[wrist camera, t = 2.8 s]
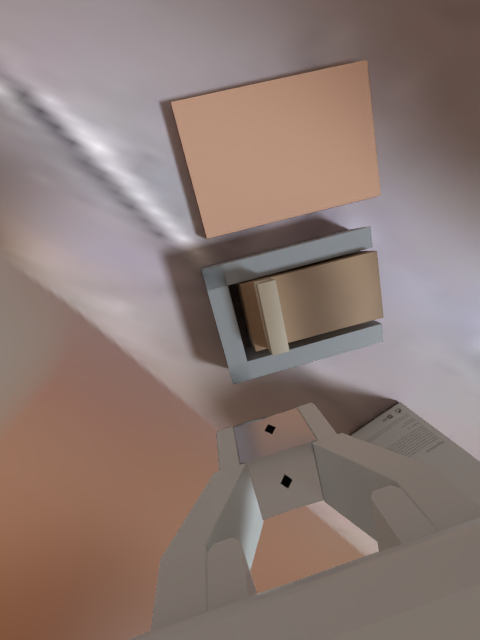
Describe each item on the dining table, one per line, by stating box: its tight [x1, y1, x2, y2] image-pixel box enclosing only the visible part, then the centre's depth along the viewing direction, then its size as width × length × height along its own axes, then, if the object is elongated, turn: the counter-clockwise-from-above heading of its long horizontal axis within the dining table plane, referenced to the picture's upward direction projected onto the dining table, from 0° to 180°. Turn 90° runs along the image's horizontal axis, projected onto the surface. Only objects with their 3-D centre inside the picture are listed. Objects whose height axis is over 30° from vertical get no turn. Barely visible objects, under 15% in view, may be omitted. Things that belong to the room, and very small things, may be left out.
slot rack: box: [201, 226, 383, 384], centre depth 22 cm, size 12×9×3 cm
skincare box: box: [351, 402, 480, 507], centre depth 21 cm, size 8×7×16 cm
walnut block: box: [236, 251, 383, 356], centre depth 21 cm, size 10×5×6 cm, turn 103°
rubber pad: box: [171, 60, 381, 239], centre depth 21 cm, size 14×9×1 cm, turn 104°
